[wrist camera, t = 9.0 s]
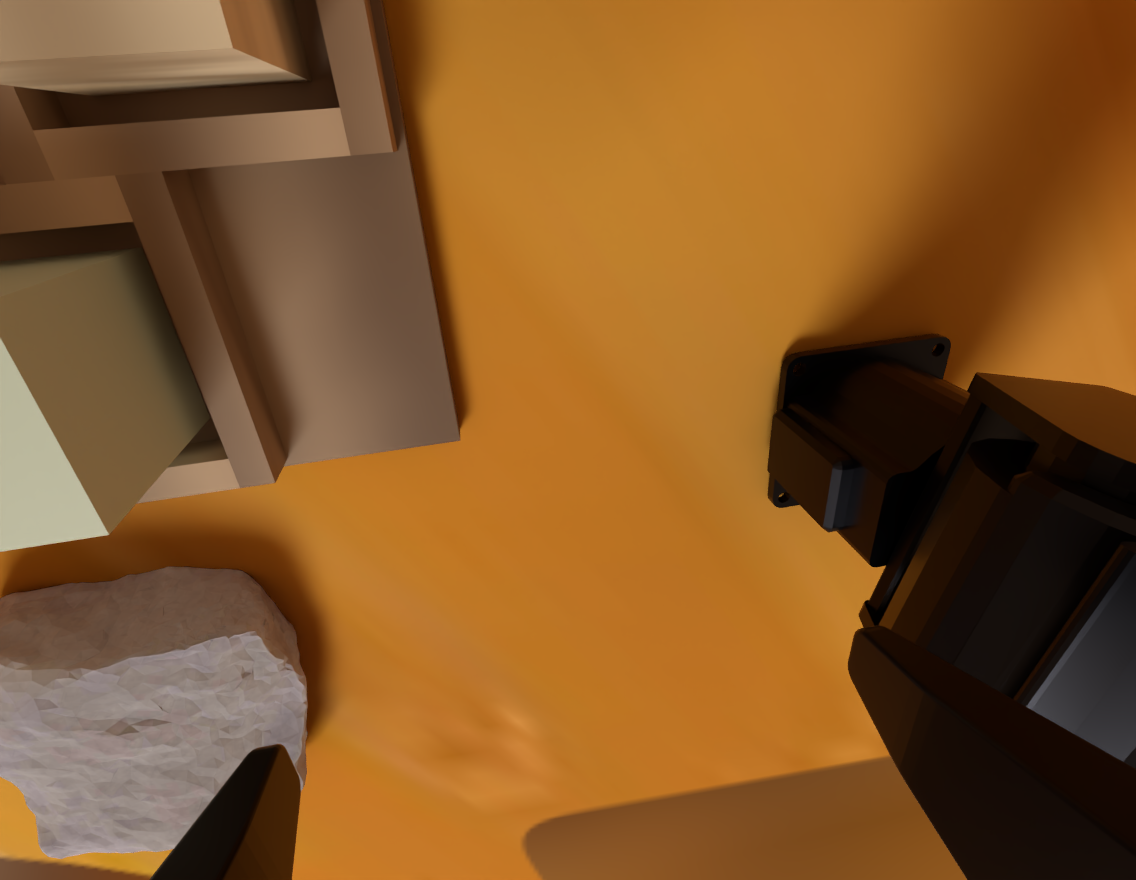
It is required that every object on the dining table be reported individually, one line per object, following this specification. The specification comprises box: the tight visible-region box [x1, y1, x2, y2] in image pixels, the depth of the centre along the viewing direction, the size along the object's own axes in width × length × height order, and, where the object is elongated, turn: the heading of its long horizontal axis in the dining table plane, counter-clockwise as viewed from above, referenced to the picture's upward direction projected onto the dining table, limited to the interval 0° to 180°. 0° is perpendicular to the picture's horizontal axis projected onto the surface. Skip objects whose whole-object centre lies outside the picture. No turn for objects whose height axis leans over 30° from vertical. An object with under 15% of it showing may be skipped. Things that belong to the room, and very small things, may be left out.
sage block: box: [0, 248, 210, 552], centre depth 14 cm, size 5×5×6 cm
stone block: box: [0, 567, 308, 859], centre depth 22 cm, size 12×5×10 cm
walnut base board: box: [0, 0, 460, 503], centre depth 14 cm, size 14×18×2 cm
